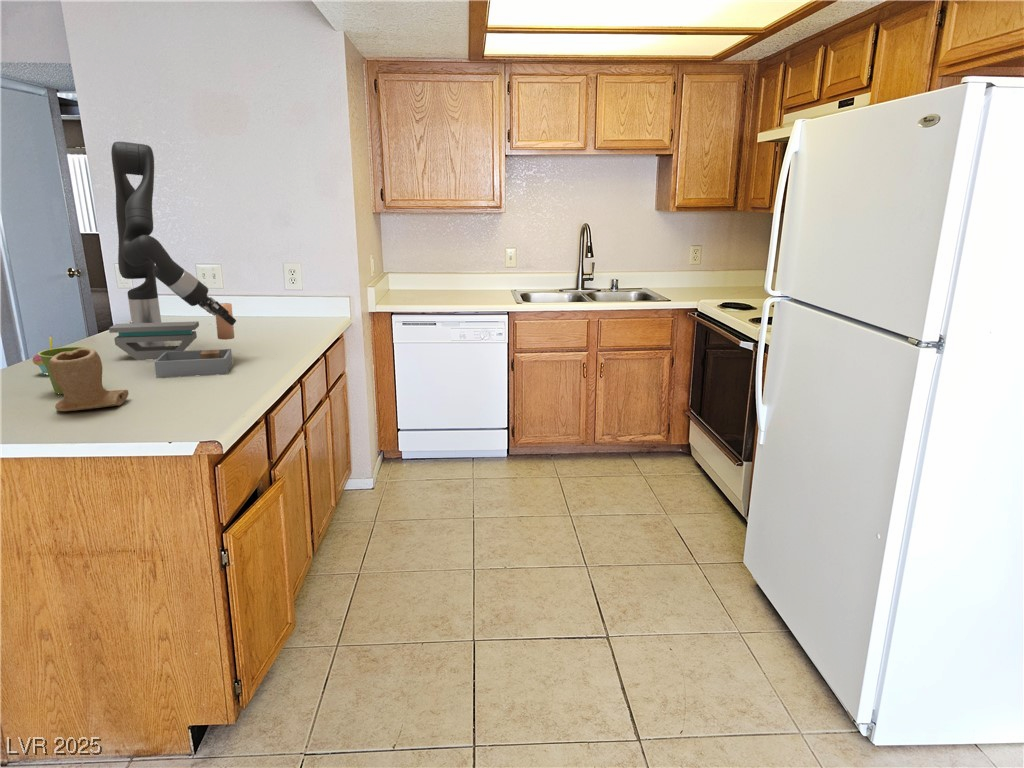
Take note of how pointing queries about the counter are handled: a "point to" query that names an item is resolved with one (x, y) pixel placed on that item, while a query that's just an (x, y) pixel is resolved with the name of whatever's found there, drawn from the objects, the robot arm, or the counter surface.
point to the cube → (210, 354)
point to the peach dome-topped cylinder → (225, 324)
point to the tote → (192, 364)
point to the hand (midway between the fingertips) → (230, 321)
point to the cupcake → (38, 360)
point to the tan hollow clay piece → (82, 381)
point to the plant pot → (46, 357)
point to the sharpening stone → (153, 337)
